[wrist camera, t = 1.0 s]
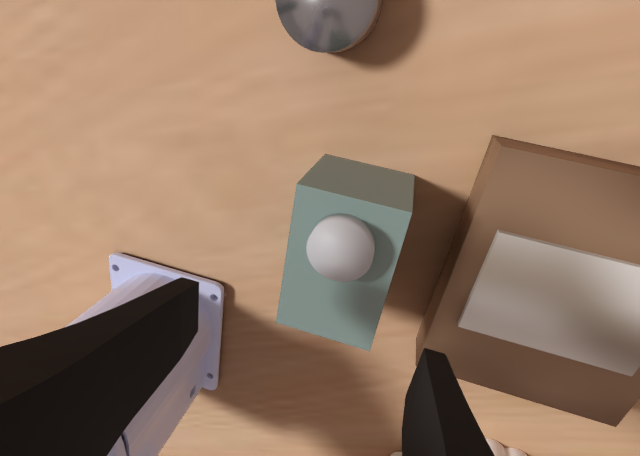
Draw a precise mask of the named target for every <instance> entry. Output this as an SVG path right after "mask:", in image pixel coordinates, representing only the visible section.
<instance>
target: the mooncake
mask: <svg viewBox="0 0 640 456" xmlns="http://www.w3.org/2000/svg"><path fill="white" fill-rule="evenodd" d="M485 439H486V441H487V443H488V444H489V446H490V448H491V450H492V451H493V453H494V455H495V456H527V455H526V453H524V452H523V451H521V450H519V449H516V448H510V447H507V448H504V447H503V446H502V445H501V444H500V443H499V442H497V441H495V440H493V439H488V438H485ZM390 456H402V452H394V453H392V454H391V455H390Z"/></svg>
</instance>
